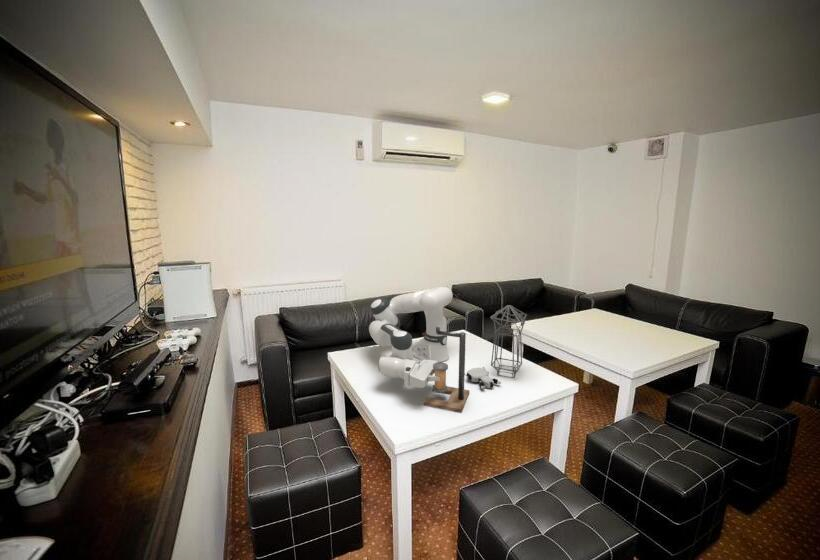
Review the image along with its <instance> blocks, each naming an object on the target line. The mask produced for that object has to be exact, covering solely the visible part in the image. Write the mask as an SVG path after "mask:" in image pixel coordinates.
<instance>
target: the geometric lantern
mask: <svg viewBox="0 0 820 560" xmlns="http://www.w3.org/2000/svg"><path fill="white" fill-rule="evenodd" d="M511 313H513V314H511ZM500 314H501V315H502V317H501V318H497V317H498V316H499V315H500ZM511 316H513V317H514V319H513V318H511ZM527 316H528V314H527V313H525V312H523V311H521V310H519V309H517V308H516V307H514V306H513V305H511V304H509V305H508V304H507V305H505V306H504V307H501V308H500V309H498V310H496V311H495V313H494V314H492V315H491V316H490V317H489V318H490V319H491V320H492V322H493V324H494V325H493V327H494V335H493V343H492V353H491V361H490V366H491V367H493V369H495V371H496V374H497V376H499V377H504V378H509V377H510V379H513V378H516V377H515V376H516V374H517V372H518V371H519V370H520V369H521V366H522V365H523V351H522V350H523V349H522V347H523V345H522V343H523V342H522V332H523V328H524V325H525V324H526V323H525V322H526V319H527ZM504 317H505V318H506V319H504ZM499 321H500V322H501V323H500V322H499ZM504 321H505V323H504V324H503V322H504ZM508 323H510V324H508ZM518 323H520V325H519V327H518V325H517V324H518ZM496 324H497V326H498V328H496ZM512 325H515V326H516V328H512V327H510V326H512ZM520 328H521V329H520ZM504 329H507V330H509V331H510V333H511V334H512V335H511V334H507V333H506V334H505V333H504ZM513 330H514V331H516V333H514V332H513ZM500 332H501V333H500ZM517 334H518V335H517ZM500 335H501V340H500ZM504 336H507V337H512V359H509V358H508V359H507V358H502V354H503V353H502V352H503V342H504V341H503V339H504ZM515 337H516V360H515ZM499 341H501V344H500V343H499ZM499 344H500V353H498V350H499ZM498 354H500V357H499V358H498ZM519 358H520V359H519ZM498 360H500V361H498ZM502 360H505V361H510V362H512V366H511V365H504V364H501V363H502ZM519 360H520V361H519ZM496 362H497V363H498V366H496ZM503 367H506V368H503ZM507 367H509V368H512V369H509V368H507ZM503 370H504V371H503ZM499 373H504V374H505V373H506V374H511V376H508V375H502V374H499Z"/></svg>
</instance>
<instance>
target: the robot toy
mask: <svg viewBox="0 0 820 560" xmlns="http://www.w3.org/2000/svg"><path fill="white" fill-rule="evenodd" d="M486 369H487V368H485V366H482V367H475V368H471V369H468V370H467V371H466V373H465V377H466V378H467V379H468V380H469V381H471V382H473V383H479V384H478V385H479V387H480V389H483V390H484V389H485V388H488V389H491V388H493V387H494V384H495V385H501V384H502V382H501V381H500V380H498V378H497V379H496V378H493V377H490V375H489V374H490V373H489V371H488V370H486Z"/></svg>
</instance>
